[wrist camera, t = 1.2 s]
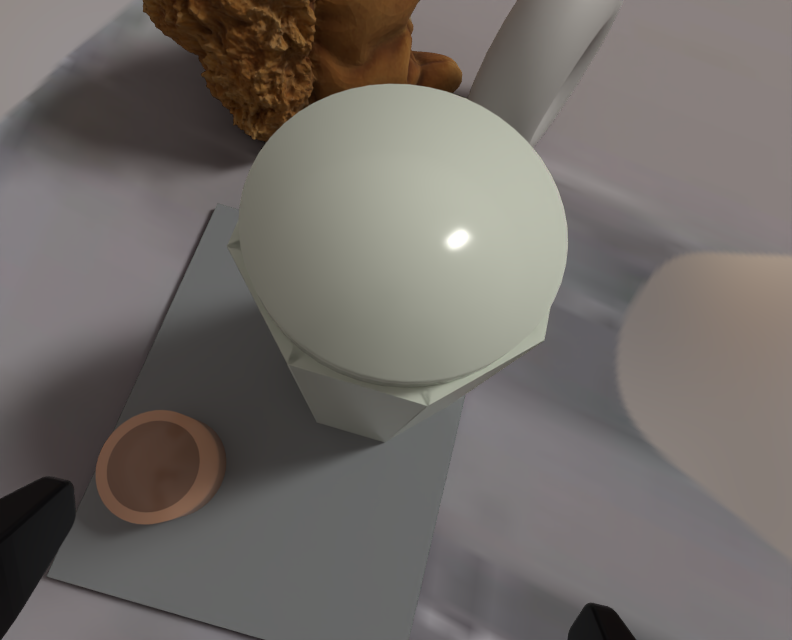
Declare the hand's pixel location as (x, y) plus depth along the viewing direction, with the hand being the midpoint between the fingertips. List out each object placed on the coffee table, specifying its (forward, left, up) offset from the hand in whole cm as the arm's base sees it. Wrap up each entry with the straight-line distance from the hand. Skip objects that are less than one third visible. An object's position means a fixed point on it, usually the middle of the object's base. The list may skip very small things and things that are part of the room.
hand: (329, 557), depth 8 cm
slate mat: (+3, +3, -13) cm, 14 cm away
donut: (+21, -3, -13) cm, 25 cm away
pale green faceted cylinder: (+7, 0, -13) cm, 14 cm away
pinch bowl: (0, +7, -13) cm, 14 cm away
